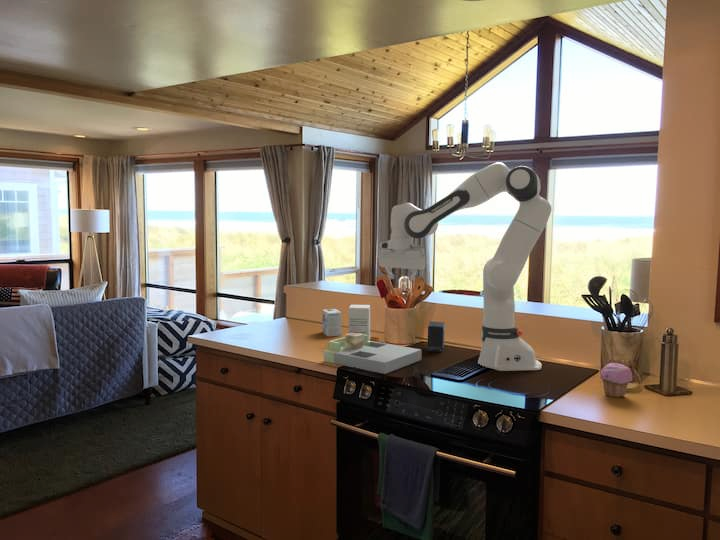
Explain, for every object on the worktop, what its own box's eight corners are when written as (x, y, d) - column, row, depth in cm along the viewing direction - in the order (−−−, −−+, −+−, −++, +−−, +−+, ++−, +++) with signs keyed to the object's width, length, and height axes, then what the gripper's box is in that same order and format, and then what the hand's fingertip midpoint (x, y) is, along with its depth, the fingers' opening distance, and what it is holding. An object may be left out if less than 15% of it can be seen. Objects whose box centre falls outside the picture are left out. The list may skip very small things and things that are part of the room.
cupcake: (609, 389, 180) (611, 358, 179) (636, 396, 173) (638, 364, 172) (594, 394, 175) (595, 362, 174) (621, 402, 168) (622, 369, 167)
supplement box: (350, 337, 256) (350, 304, 254) (370, 337, 255) (370, 304, 253) (348, 341, 247) (348, 307, 245) (368, 342, 246) (368, 307, 244)
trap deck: (421, 359, 216) (421, 341, 216) (385, 374, 197) (385, 354, 197) (362, 349, 233) (362, 332, 232) (323, 361, 214) (323, 342, 214)
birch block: (363, 346, 220) (363, 334, 219) (355, 349, 216) (355, 336, 215) (352, 345, 223) (352, 332, 222) (345, 347, 219) (345, 334, 218)
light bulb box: (322, 332, 267) (321, 309, 266) (335, 331, 269) (335, 308, 268) (327, 336, 257) (327, 313, 256) (342, 335, 259) (342, 312, 258)
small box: (443, 352, 229) (443, 326, 227) (426, 351, 230) (427, 325, 229) (444, 346, 239) (445, 321, 238) (429, 345, 240) (429, 320, 239)
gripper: (428, 245, 220) (428, 280, 221) (385, 243, 232) (385, 277, 234) (420, 245, 215) (419, 282, 216) (376, 244, 227) (376, 278, 229)
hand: (401, 279), depth 225 cm, fingers open, 8 cm apart
